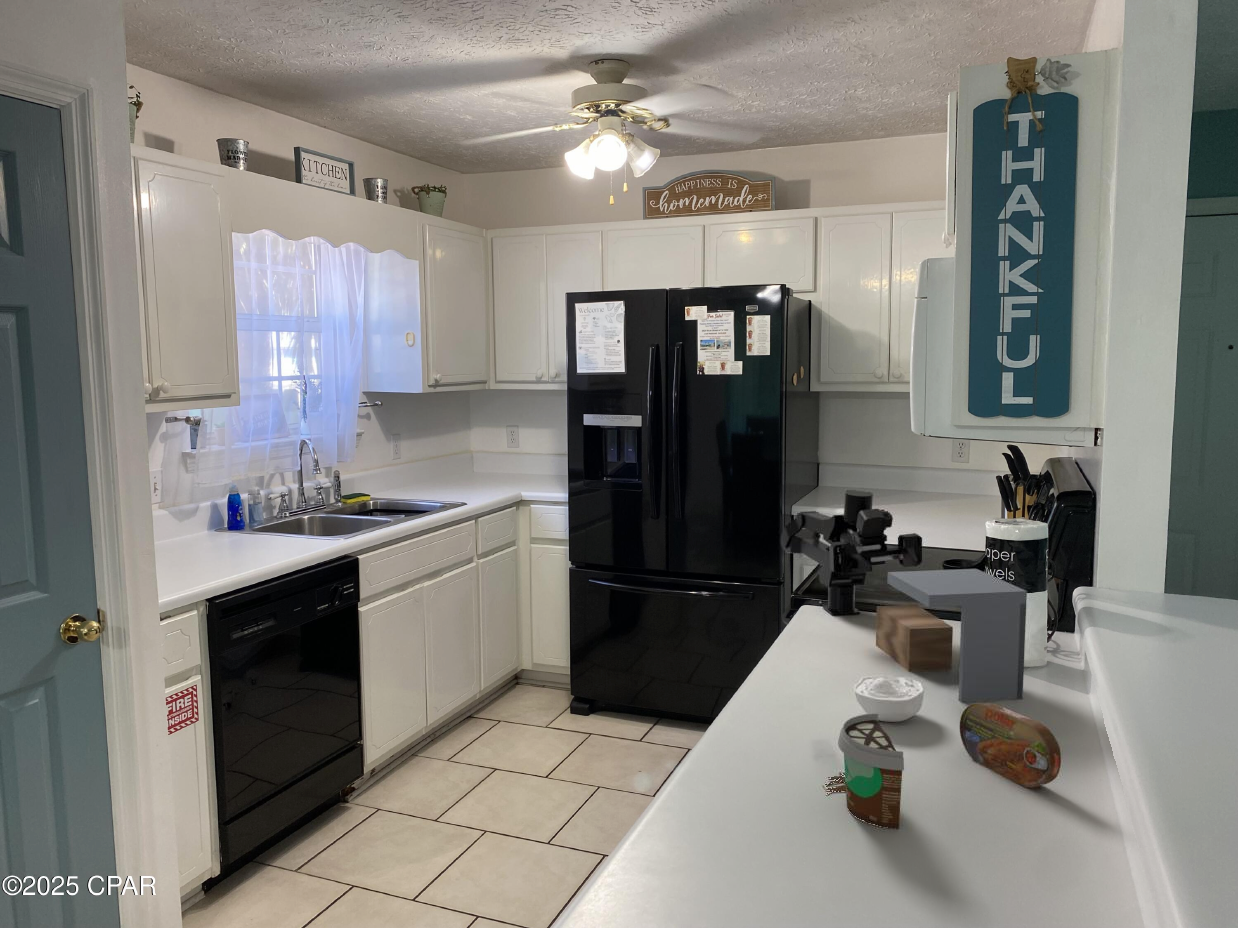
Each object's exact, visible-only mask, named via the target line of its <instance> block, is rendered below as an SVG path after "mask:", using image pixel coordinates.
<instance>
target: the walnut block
mask: <svg viewBox="0 0 1238 928" xmlns="http://www.w3.org/2000/svg"><path fill="white" fill-rule="evenodd" d="M875 618H876V627H875V629H876V630H875V631H876V632H875V633H876V634H875V646H876V647H877V648H878V649H880V650H881V651H882V652H884V653H885V654H886V655H887V656H889V657H890V658H892V659H893V660H894V661H895V662H896V663H898V665H899V666H900V667H902V668H904V669H905V670H906V671H907V672H927V671H946V670H947V671H950V670H953V669H952V667H953V666H952V663H953V638H954V637H953V635H954V633H953V632H954V631H953V630H954V629H953V628H954V627H953V626H952V625H950V624H949V623H947V622H945V621H944V620H942V619H940V618H939V617H937V616H935V615H934V614H933V613H930V612H928V611H927V610H925V609H924V608H922V607H921V606H919V605H917V604H903V605H902V604H901V605H900V604H899V605H897V604H896V605H877V606H876V617H875Z"/></svg>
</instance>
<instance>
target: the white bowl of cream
mask: <svg viewBox="0 0 1238 928" xmlns="http://www.w3.org/2000/svg"><path fill="white" fill-rule="evenodd" d="M853 691H854V695H855V697H856V701H857V703H858V704H859V706H860V707H861V708H862V709H863V710H864V712H865V714H878V722H879V721H881V722H890V723H891V722H892V723H893V722H894V723H895V722H902V721H906V720H908V719H909V718H912V717H914V716H915V715H916V714H918V713H919V712H920V710H921V708H922V706H923V702H924V694H925V693H924V692H925V687H924V686H923V683H922V682H920V681H918V680H915V679H912V678H911V677H905V676H898V675H894V676H893V675H880V674H879V675H878V674H877V675H870V676H863V677H861V678H860V679H859V681H858V683H856V684H855V685H854V686H853Z"/></svg>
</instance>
